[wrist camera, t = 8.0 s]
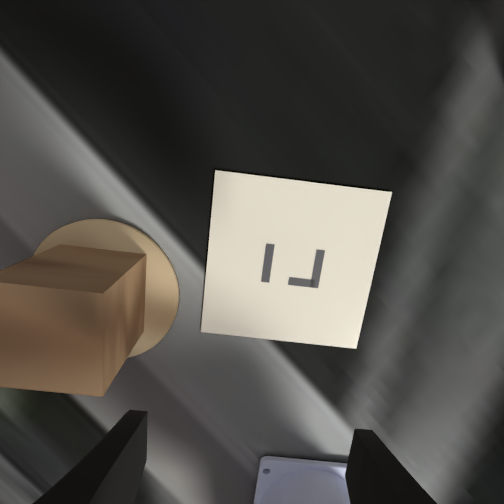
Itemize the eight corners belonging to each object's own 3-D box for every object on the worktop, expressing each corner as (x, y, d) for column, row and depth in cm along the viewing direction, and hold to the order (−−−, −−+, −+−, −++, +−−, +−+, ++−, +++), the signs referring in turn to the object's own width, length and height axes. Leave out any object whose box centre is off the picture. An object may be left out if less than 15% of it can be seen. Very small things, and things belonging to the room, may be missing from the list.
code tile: (355, 347, 22) (356, 348, 22) (200, 331, 21) (200, 332, 21) (391, 192, 19) (392, 192, 19) (215, 170, 19) (215, 170, 19)
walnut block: (143, 331, 21) (102, 396, 15) (62, 322, 21) (-11, 385, 15) (146, 254, 20) (102, 293, 14) (59, 244, 19) (-22, 280, 14)
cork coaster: (174, 363, 22) (173, 366, 21) (34, 348, 22) (31, 351, 21) (184, 228, 20) (182, 229, 19) (27, 209, 19) (22, 211, 19)
